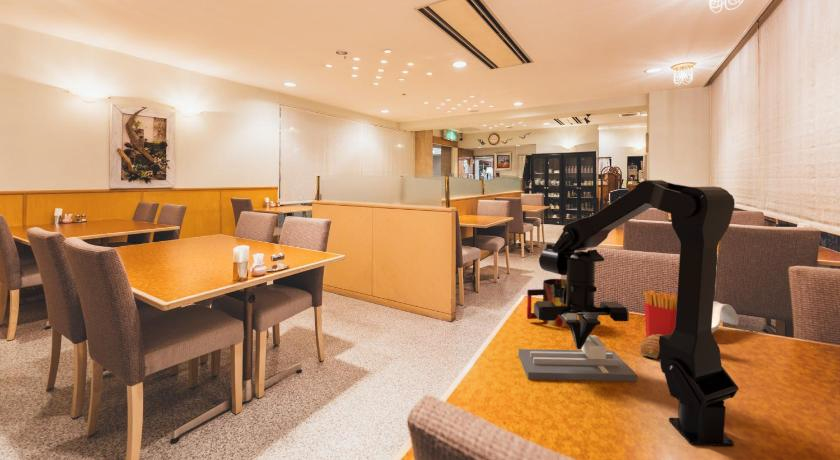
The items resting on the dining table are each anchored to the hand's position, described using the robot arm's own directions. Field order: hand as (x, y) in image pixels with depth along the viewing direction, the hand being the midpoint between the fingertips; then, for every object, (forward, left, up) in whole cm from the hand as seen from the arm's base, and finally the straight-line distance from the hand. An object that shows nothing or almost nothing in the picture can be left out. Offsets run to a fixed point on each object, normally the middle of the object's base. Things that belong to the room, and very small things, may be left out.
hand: (578, 348), depth 86 cm
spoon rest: (+26, -43, -5) cm, 50 cm away
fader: (0, -3, -3) cm, 4 cm away
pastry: (+9, -21, -5) cm, 24 cm away
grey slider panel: (0, +1, -4) cm, 5 cm away
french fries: (+16, -26, -5) cm, 31 cm away
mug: (+30, -3, -5) cm, 31 cm away
